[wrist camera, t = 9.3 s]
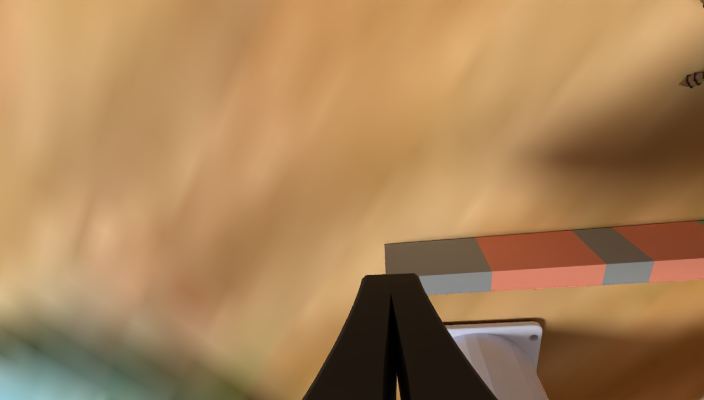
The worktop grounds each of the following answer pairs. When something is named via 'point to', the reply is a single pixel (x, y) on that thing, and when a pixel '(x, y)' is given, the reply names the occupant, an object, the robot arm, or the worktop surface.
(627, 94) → the worktop surface
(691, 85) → the game die
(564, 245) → the trap track
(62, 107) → the worktop surface
